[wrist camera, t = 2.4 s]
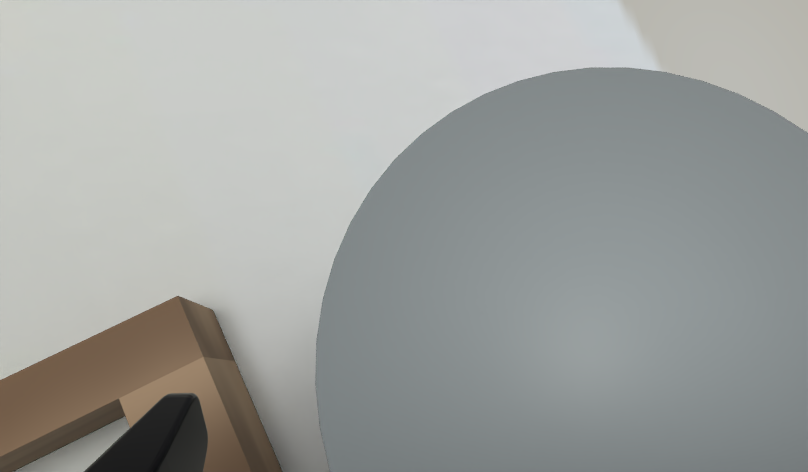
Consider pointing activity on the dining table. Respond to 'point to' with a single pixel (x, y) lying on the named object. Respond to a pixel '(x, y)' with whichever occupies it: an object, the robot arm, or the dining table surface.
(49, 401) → the socket block
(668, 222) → the peg
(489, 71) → the dining table surface
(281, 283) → the dining table surface
